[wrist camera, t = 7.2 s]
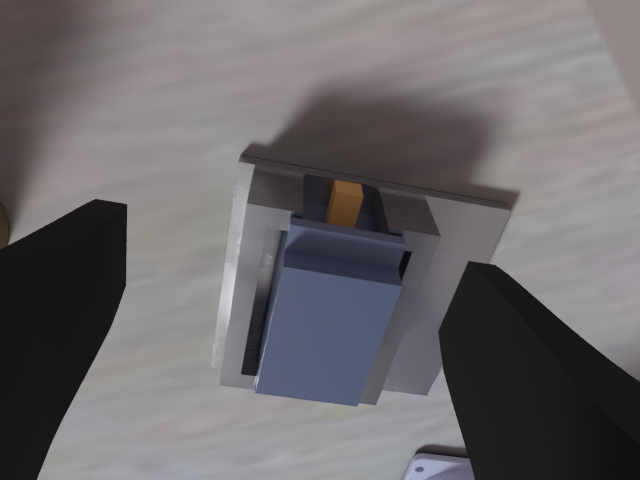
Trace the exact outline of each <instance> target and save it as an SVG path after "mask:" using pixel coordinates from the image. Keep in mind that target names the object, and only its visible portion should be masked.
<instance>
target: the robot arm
mask: <svg viewBox="0 0 640 480" xmlns="http://www.w3.org/2000/svg"><path fill="white" fill-rule="evenodd" d="M126 242H127V204H123V203H116V202H110V201H104V200H98V199H95V200H93V201H90V202H88V203H86V204H84V205H83V206H81V207H79V208H77V209H75V210H73V211H72V212H70V213H68V214H66V215H64V216H63V217H61V218H59V219H57V220H55V221H54V222H52V223H50V224H48V225H46V226H44V227H43V228H41V229H39V230H37V231H35V232H33V233H31V234H30V235H28V236H26V237H24V238H22V239H20V240H18V241H16V242H14V243H12V244H10V245H8V246H6V247H4V248H2V249H0V480H37V478H38V475H39V473H40V470H41V468H42V465H43V463H44V460H45V458H46V455H47V453H48V450H49V448H50V445H51V443H52V440H53V438H54V436H55V434H56V432H57V430H58V428H59V426H60V423H61V421H62V419H63V417H64V415H65V414H66V412H67V410H68V408H69V406H70V404H71V402H72V400H73V398H74V397H75V395H76V393H77V391H78V389H79V387H80V385H81V383H82V381H83V380H84V378H85V376H86V374H87V372H88V370H89V368H90V366H91V364H92V363H93V361H94V359H95V357H96V355H97V353H98V351H99V349H100V347H101V345H102V343H103V341H104V340H105V338H106V336H107V334H108V332H109V330H110V328H111V325H112V323H113V320H114V317H115V315H116V312H117V309H118V307H119V304H120V301H121V298H122V295H123V292H124V289H125V287H126ZM438 334H439V342H440V350H441V357H442V364H443V370H444V374H445V378H446V382H447V385H448V389H449V392H450V396H451V399H452V403H453V406H454V409H455V413H456V416H457V419H458V423H459V426H460V429H461V433H462V436H463V439H464V443H465V446H466V450H467V453H468V456H469V458H461V457H452V456H443V455H435V454H426V453H419V454H417V455H415V456H414V457H413V459H412V461H411V463H410V465H409V467H408V469H407V471H406V473H405V475H404V477H403V480H640V382H639V381H638V380H636V379H635V378H633V377H632V376H630V375H629V374H628V373H626V372H625V371H624V370H622V369H621V368H620V367H618V366H617V365H616V364H614V363H613V362H612V361H610V360H609V359H608V358H607V357H605V356H604V355H603V354H602V353H600V352H599V351H598V350H596V349H595V348H594V347H593V346H591V345H590V344H589V343H588V342H586V341H585V340H584V339H583V338H582V337H580V336H579V335H578V334H577V333H575V332H574V331H573V330H572V329H571V328H570V327H568V326H567V325H566V324H565V323H564V322H562V321H561V320H560V319H559V318H558V317H557V316H556V315H554V314H553V313H552V312H551V311H550V310H549V309H547V308H546V307H545V306H544V305H543V304H542V303H541V302H539V301H538V300H537V299H536V298H535V297H534V296H533V295H531V294H530V293H529V292H528V291H527V290H526V289H525V288H523V287H522V286H521V285H520V284H519V283H518V282H516V281H515V280H514V279H513V278H512V277H510V276H509V275H508V274H507V273H505V272H504V271H503V270H501V269H500V268H499V267H497V266H496V265H491V264H485V263H479V262H473V261H468V263H467V266H466V268H465V270H464V272H463V275H462V277H461V279H460V282H459V284H458V286H457V289H456V291H455V293H454V296H453V298H452V300H451V303H450V305H449V307H448V309H447V312H446V314H445V316H444V319H443V321H442V323H441V326H440V328H439V330H438Z"/></svg>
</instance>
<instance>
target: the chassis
mask: <svg viewBox="0 0 640 480" xmlns="http://www.w3.org/2000/svg"><path fill="white" fill-rule="evenodd" d="M335 180H340V181H345V182H351V183H356V184H361V187H362V192H363V200H362V203H361V207H360V210H359V213H358V214H363V215H369V216H374V217H376V220H377V224H378V229H379V233H383V234H388V235H394V236H399V237H404V238H405V242H406V248H405V251H404V253H403V256H402V259H401V262H400V264H399V267H398V271H399V275H400V279H401V283H402V289H401V291H400V294H399V296H398V299H397V302H396V304H395V307H394V310H393V312H392V315H391V318H390V320H389V323H388V326H387V328H386V331H385V334H384V336H383V339H382V342H381V344H380V347H379V350H378V352H377V355H376V358H375V360H374V363H373V366H372V368H371V371H370V374H369V376H368V379H367V381H366V384H365V387H364V389H363V392H362V395H361V397H360V400H359V403H364V404H372V405H376V404H377V401H378V398H379V396H380V393H381V391H382V390H387V391H395V392H403V393H410V394H418V395H426V396H427V395H428V393H429V390H430V388H431V386H432V384H433V382H434V379H435V377H436V375H437V373H438V371H439V368H440V366H441V364H442V357H441V350H440V342H439V334H438V330H439V328H440V326H441V323H442V321H443V319H444V316H445V314H446V312H447V309H448V307H449V305H450V303H451V300H452V298H453V296H454V293H455V291H456V289H457V286H458V284H459V282H460V279H461V277H462V275H463V272H464V270H465V268H466V266H467V263H468V261H473V262H479V263H485V264H487V263H488V261H489V259H490V257H491V255H492V252H493V250H494V248H495V246H496V244H497V241H498V239H499V237H500V235H501V233H502V231H503V228H504V226H505V224H506V222H507V220H508V217H509V215H510V213H511V210H510V208H509V207H508V205H507V204H505V203H499V202H494V201H488V200H483V199H477V198H472V197H466V196H461V195H455V194H450V193H444V192H439V191H433V190H428V189H422V188H417V187H411V186H406V185H400V184H395V183H389V182H384V181H378V180H373V179H367V178H362V177H356V176H351V175H345V174H340V173H334V172H329V171H323V170H318V169H312V168H307V167H301V166H296V165H290V164H285V163H279V162H274V161H268V160H263V159H257V158H251V157H246V156H240V159H239V163H238V170H237V178H236V185H235V192H234V200H233V207H232V215H231V222H230V229H229V237H228V244H227V252H226V259H225V266H224V274H223V281H222V289H221V296H220V303H219V311H218V318H217V326H216V333H215V340H214V348H213V355H212V363H211V368H218V369H222V370H221V377H220V384H219V385H221V386H229V387H237V388H245V389H253V390H254V384H255V378H256V373H257V369H258V364H259V355H260V346H261V336H262V327H263V318H264V312H265V307H266V302H267V298H268V293H269V288H270V283H271V278H272V274H273V269H274V264H275V259H276V255H277V250H278V245H279V240H280V235H281V231H282V230H284V231H287V230H288V226H289V221H290V217H293V218H299V219H302V215H303V204H308V205H314V206H319V207H325V208H328V204H329V200H330V197H331V193H332V189H333V185H334V181H335Z"/></svg>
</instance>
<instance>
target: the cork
mask: <svg viewBox="0 0 640 480" xmlns="http://www.w3.org/2000/svg"><path fill="white" fill-rule="evenodd" d="M8 235H9V225H8V221H7V218H6V214H5V211H4V207H3V206H2V204H1V203H0V249H2V248H4V247H6V246H7V245H8Z"/></svg>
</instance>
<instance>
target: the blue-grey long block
mask: <svg viewBox="0 0 640 480" xmlns="http://www.w3.org/2000/svg"><path fill="white" fill-rule="evenodd" d="M362 200H363V192H362V187H361V184H356V183H351V182H345V181H340V180H335V181H334V185H333V189H332V193H331V197H330V200H329V204H328V208H325V207H319V206H314V205H308V204H303V215H302V219H299V218H293V217H290V221H289V226H288V230H287V231H284V230H282V231H281V235H280V240H279V245H278V250H277V255H276V259H275V264H274V269H273V274H272V278H271V283H270V288H269V293H268V298H267V302H266V307H265V312H264V318H263V327H262V336H261V346H260V355H259V364H258V369H257V373H256V378H255V384H254V391H256V392H255V393H259V394H266V395H274V396H282V397H289V398H297V399H304V400H312V401H319V402H327V403H334V404H342V405H349V406H357V405H358V403H359V400H360V397H361V395H362V392H363V389H364V387H365V384H366V381H367V379H368V376H369V374H370V371H371V368H372V366H373V363H374V360H375V358H376V355H377V352H378V350H379V347H380V344H381V342H382V339H383V336H384V334H385V331H386V328H387V326H388V323H389V320H390V318H391V315H392V312H393V310H394V307H395V304H396V302H397V299H398V296H399V294H400V291H401V289H402V283H401V279H400V275H399V271H398V267H399V264H400V262H401V259H402V256H403V253H404V251H405V248H406V242H405V238H404V237H399V236H394V235H388V234H383V233H379V229H378V224H377V220H376V217H374V216H369V215H363V214H358V213H359V210H360V207H361V203H362Z"/></svg>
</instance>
